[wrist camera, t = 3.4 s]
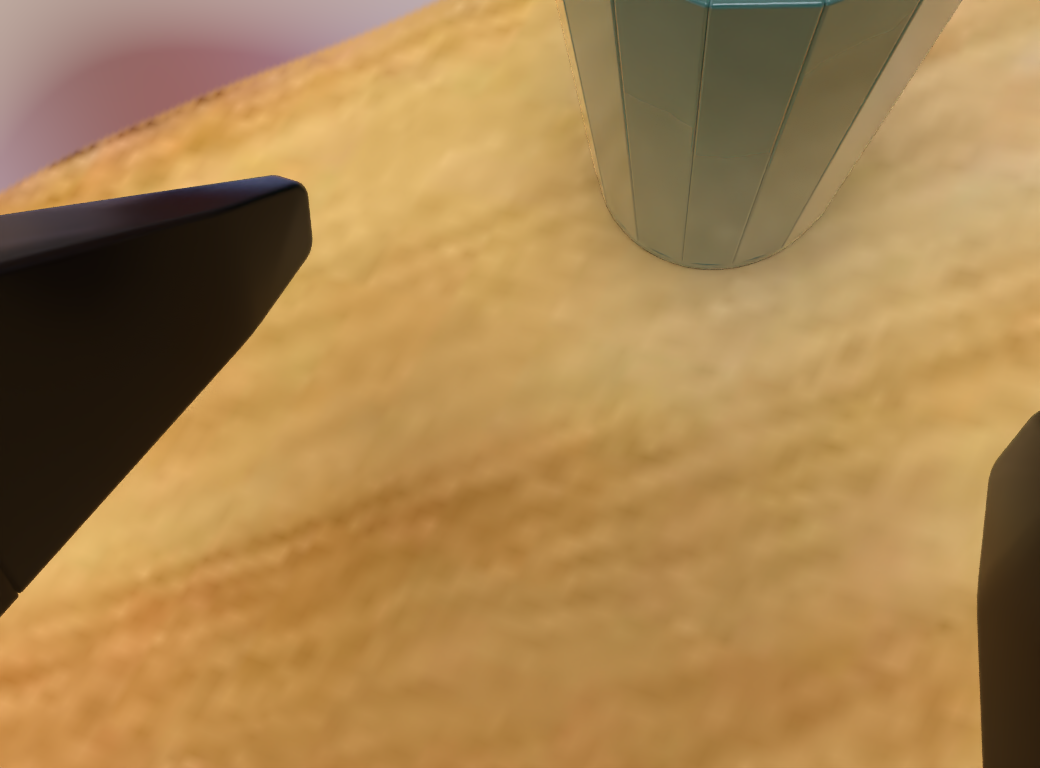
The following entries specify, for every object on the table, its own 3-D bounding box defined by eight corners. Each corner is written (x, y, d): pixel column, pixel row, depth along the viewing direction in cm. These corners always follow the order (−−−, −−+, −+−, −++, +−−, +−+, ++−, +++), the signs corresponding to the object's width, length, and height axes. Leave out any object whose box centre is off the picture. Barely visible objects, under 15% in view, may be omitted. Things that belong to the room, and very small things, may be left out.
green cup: (701, 318, 21) (756, 119, 9) (550, 151, 22) (418, -223, 10) (895, 158, 20) (1245, -294, 8) (728, -4, 22) (815, -596, 10)
